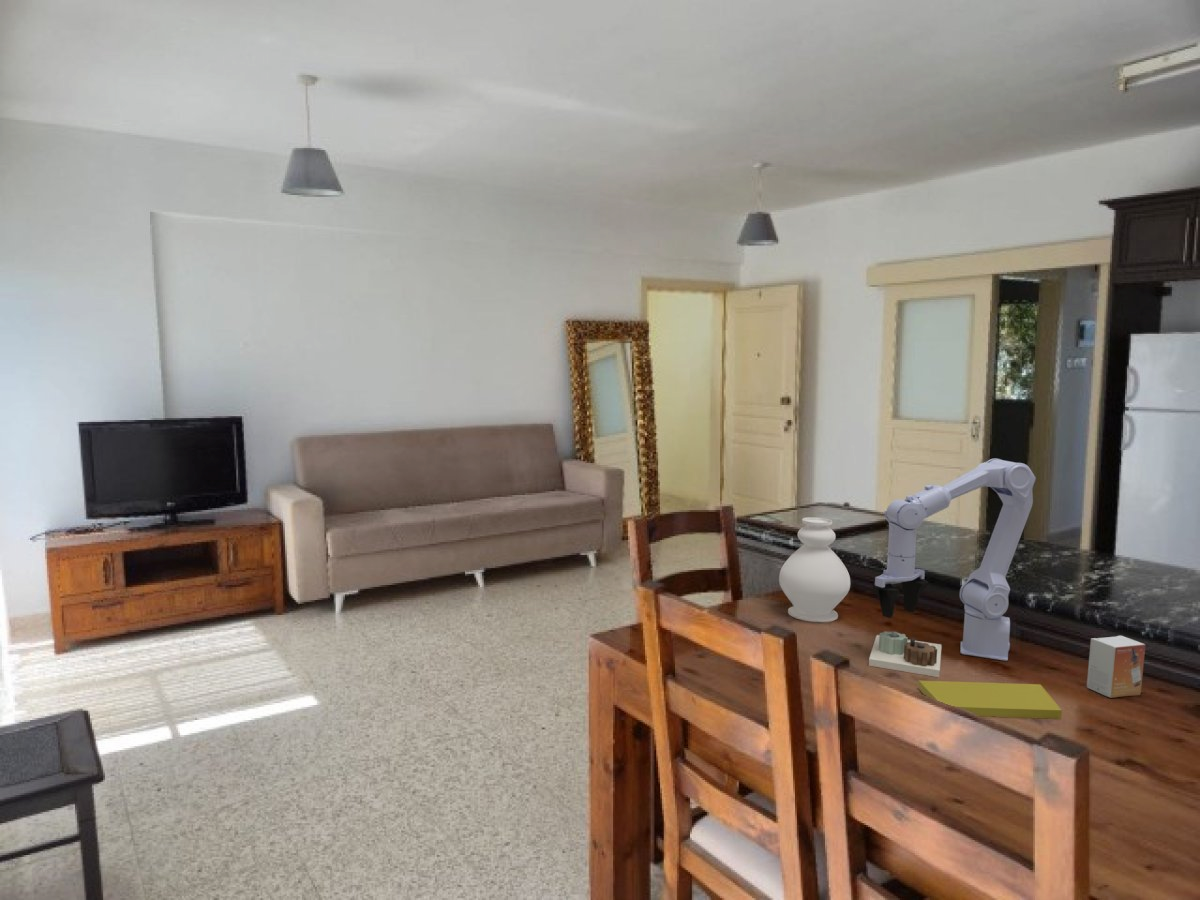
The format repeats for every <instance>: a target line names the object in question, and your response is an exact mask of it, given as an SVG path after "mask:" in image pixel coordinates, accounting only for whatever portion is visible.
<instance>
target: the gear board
mask: <svg viewBox="0 0 1200 900" xmlns="http://www.w3.org/2000/svg"><path fill="white" fill-rule="evenodd" d="M879 636H880V634H876V635H875V639H874V643H873V646H872V648H871V652H870V655H869V658H868V666H869V667H876V668H881V669H887V670H892V671H899V672H905V673H910V674H917V675H923V676H929V677H935V678H940V672H941V660H942V659H941V658H942V644H941V643H934V642H926V641H919V640H915V642H920V643H927V644H929V645H930V646H935V647H936V649H937V662H936V663H934V665H933V666H931V665H927V666H922V665H919V664H917V665H915V664H912V662H907V661H905V658H904V653H903V655H899V654H893V655H891V654H889V653H886V652H882V651H880V650H881V649H879ZM891 637H898V635H897V634H896V633H893V634H892V635H891ZM908 642H910V639H908V641H907V643H908Z"/></svg>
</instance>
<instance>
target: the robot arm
mask: <svg viewBox="0 0 1200 900" xmlns="http://www.w3.org/2000/svg"><path fill="white" fill-rule="evenodd" d="M1035 483H1036V476H1035V474H1034V472H1033V471H1032V469H1031V468H1030V466H1028V465H1027V464H1025V463H1022V462H1014V461H1009V460H1003V459H1001V458H991V459H989V460H987V461H985V462H981V463H979V464H978V465H977V466H976V467H975V468H973V469H971V470H969V471H968V472H966V473H965V474H963V475H960V476H959V477H957V478H955V479H954V480H951V481H950V482H948V483H947V484H945V485H942V486H941V485H939V484H933V485H932V484H926V485H925V486H924V489H922V490H920V491H918V492H916V493H914V494H907V495H906V496H905V499H896V500H893V501H891V502H890V503H889V505H888V506H887V507H886V510H884V517H885V519H886V521H887V522H888V545H887V560H886V561H887V565H886V569H883V573H882V574H881V575H878V576H875V577H874V579H875V580H874V583H873V584H872V588H873V591H874V592H875V594H876V595H877V596H876V597H877V598H878V602H879V606H880V610H881V614H882V616H883V617H885V618H888V619H892V618H893V615H894V610H895V603H896V599H897V596H898V594H899V592H900V589H898V588H896V587H894V586H893V585H896V584H901V587H902V592H903V593H902V594H903V610H904V611H906V612H910V613H915V610H916V607H917V605H918V602H919V599H920V597H921V595H922V593H923V591H924V589H926V587H927V581H925V576H926V575H925V574H926V570H924V569H920V568H915V567H916V549H917V532H918V528H919V527H921V525H922V523H923V521H924V520H925V519H927V518H929V517H931V516H933V515H935V514H937V513H940V512H941V511H943V510H946V509H947V508H949V507H950V504H951V501H952V500H955V499H956V498H958V497H959V498H960V497H961V496H963V495H966V494H968V493H970V492H974V491H975V490H978V489H980V488H983V487H987V488H988V487H989V488H991V489H992V491H994V492H996V494H997V495H998V498H999V499H1000V500H1001V502H1002V506H1001V509H1000V511H999V514H998V518H997V520H996V523H995V525H994V528H993V531H992V533H991V536H990V539H989V541H988V544H987V548H986V550H985V553H984V556H983V557H982V561H981V563H980V566H979V568H977V569H976V570H974V571H973V572H971V573H970V574H969V577H968V578H967V580H966V581H965V582H964V583H963V584H962V585H961V587H960V589H959V599H960V601H961V602H962V603H963V604H964V606H963V607H964V608H963V610H964V621H963V635H962V636H963V637H962V641H960V654H962V655H966V656H973V657H979V658H985V659H992V660H998V661H999V660H1000V661H1005V662H1007V661H1008V659H1009V651H1010V647H1011V642H1010V634H1011V633H1010V632H1011V620H1010V617H1008V616H1004V614H1005V613H1006V612H1007V610H1008V608H1009V595H1010V591H1011V587H1010V585H1009V582H1008V581H1007V578H1006V576H1007V574H1008V571H1009V569H1010V565H1011V564H1012V560H1013V557H1014V555H1015V553H1016V550H1017V547H1018V544H1019V541H1020V539H1021V536H1022V534H1023V531H1024V528H1025V526H1026V523H1027V521H1028V518H1029V514H1030V513H1031V510H1032V508H1033V503H1034V499H1033V498H1034V497H1033V495H1034V494H1033V487H1034V484H1035Z"/></svg>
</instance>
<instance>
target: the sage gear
mask: <svg viewBox="0 0 1200 900" xmlns="http://www.w3.org/2000/svg"><path fill="white" fill-rule="evenodd" d="M893 633H896V634H897V635H898V637H891V635H892V634H893ZM879 635H880V636H879V649H881V650H880V651H882V652H886V653H889V654H891V655H893V654H899V655H903V653H904V645H905V644H907V641H908V640H909V639H908V638H909V637H907V635H906V634H905V633H899V632H898V631H888V630H885V631H883V632H879Z"/></svg>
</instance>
